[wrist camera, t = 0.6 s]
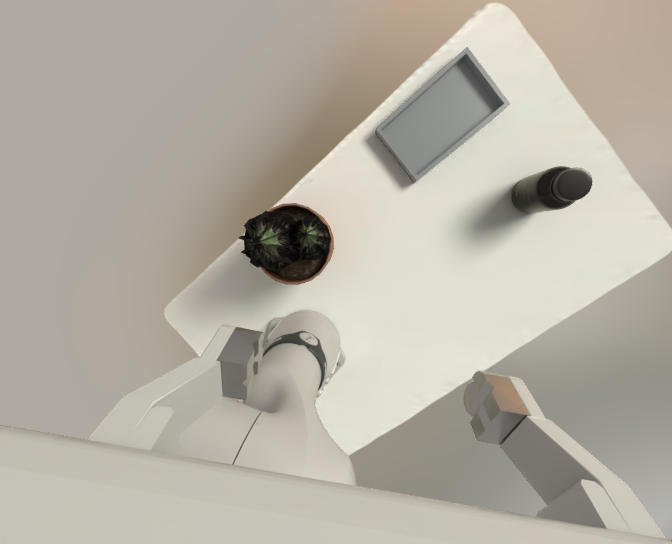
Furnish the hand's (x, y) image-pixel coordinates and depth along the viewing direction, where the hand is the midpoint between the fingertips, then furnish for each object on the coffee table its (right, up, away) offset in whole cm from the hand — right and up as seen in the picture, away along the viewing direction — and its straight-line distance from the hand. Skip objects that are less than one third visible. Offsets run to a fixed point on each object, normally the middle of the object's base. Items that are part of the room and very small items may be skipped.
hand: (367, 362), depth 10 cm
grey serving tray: (+18, +32, +42) cm, 56 cm away
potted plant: (-7, +10, +49) cm, 50 cm away
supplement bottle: (+36, +18, +42) cm, 58 cm away
